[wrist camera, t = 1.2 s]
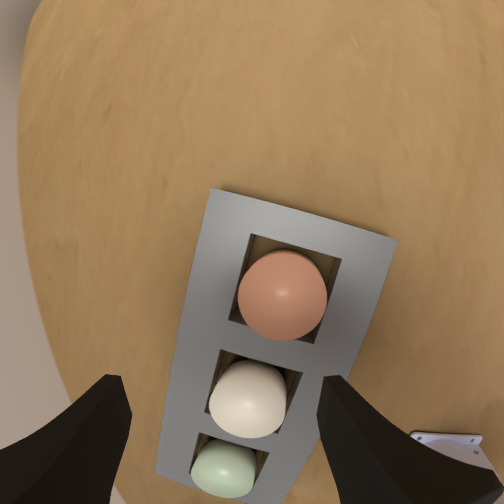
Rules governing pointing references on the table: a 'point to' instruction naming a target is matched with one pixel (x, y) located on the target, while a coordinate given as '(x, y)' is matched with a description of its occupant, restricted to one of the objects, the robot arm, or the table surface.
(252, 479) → the button sage
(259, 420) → the button cream
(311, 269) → the button terracotta
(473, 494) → the robot arm
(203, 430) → the button board
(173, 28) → the table surface
